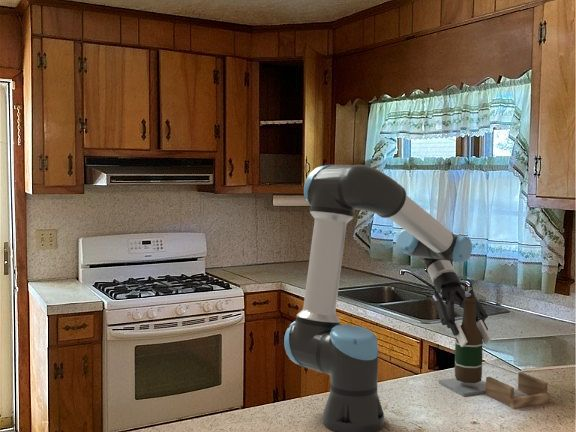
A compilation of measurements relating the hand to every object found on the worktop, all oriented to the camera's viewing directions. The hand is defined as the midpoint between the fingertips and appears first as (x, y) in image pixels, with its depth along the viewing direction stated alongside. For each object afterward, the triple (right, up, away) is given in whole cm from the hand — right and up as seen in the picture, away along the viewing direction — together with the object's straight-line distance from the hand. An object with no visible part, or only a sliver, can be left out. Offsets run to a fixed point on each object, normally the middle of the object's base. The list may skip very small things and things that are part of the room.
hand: (476, 343), depth 179 cm
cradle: (+9, -14, -5) cm, 18 cm away
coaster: (-1, -14, +4) cm, 14 cm away
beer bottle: (-1, -12, +4) cm, 12 cm away
